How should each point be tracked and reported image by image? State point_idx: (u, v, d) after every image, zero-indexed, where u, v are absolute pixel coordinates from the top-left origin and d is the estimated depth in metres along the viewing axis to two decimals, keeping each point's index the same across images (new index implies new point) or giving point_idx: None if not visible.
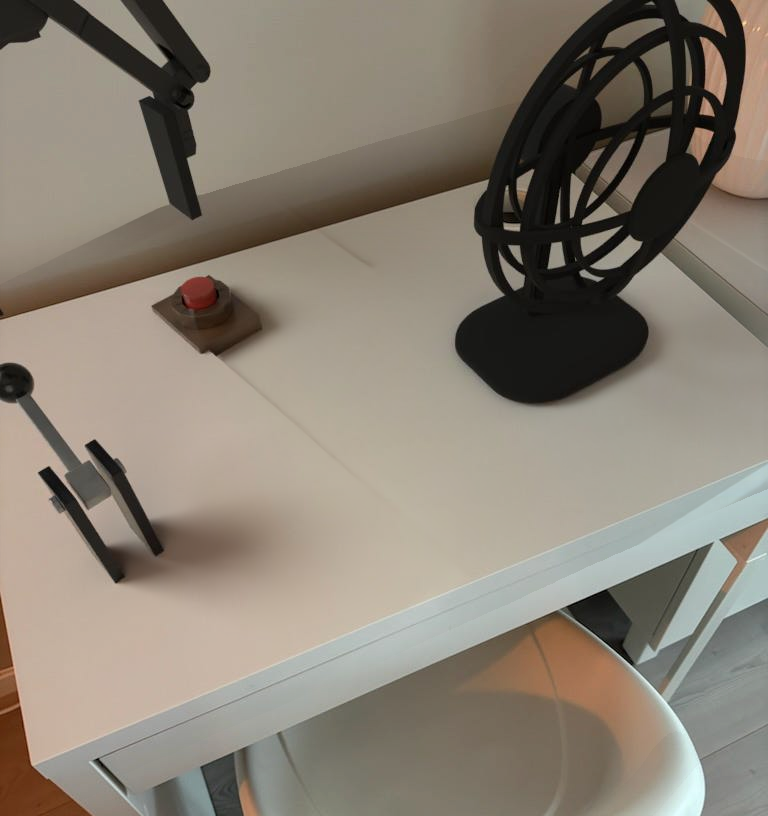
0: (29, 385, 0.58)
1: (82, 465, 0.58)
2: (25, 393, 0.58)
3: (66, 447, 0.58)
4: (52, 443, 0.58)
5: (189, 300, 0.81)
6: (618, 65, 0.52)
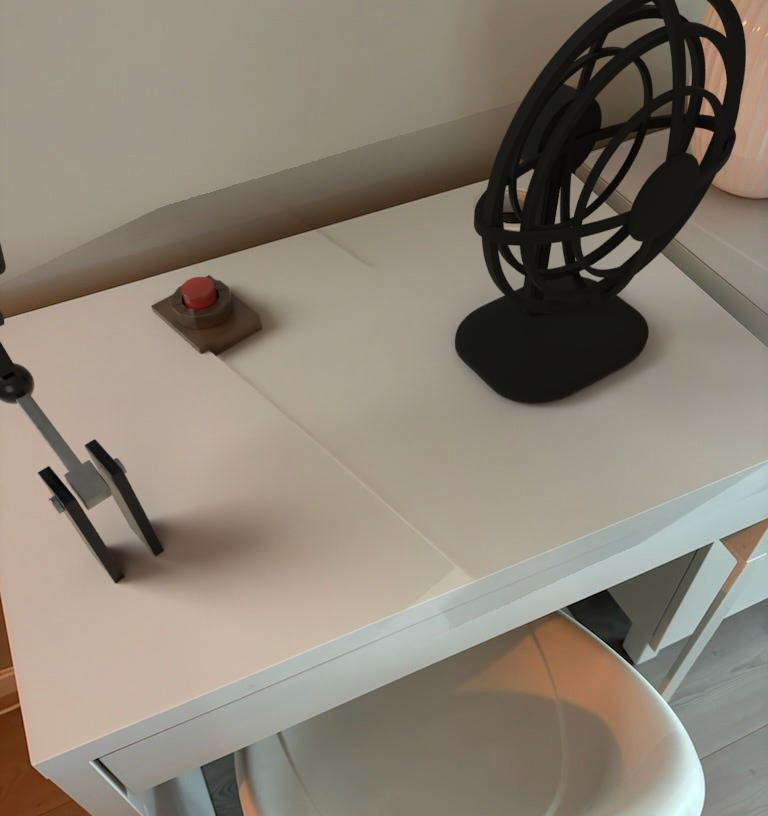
0: (29, 385, 0.58)
1: (82, 465, 0.58)
2: (25, 393, 0.58)
3: (66, 447, 0.58)
4: (52, 443, 0.58)
5: (189, 300, 0.81)
6: (618, 65, 0.52)
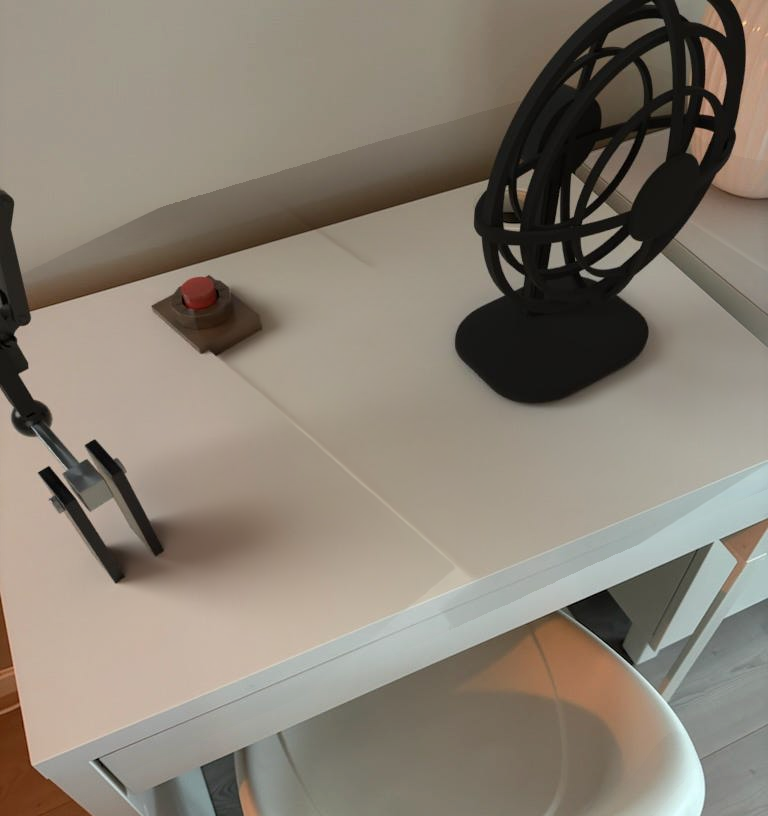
0: (43, 414, 0.63)
1: (80, 463, 0.59)
2: (39, 420, 0.62)
3: (69, 456, 0.60)
4: (57, 454, 0.60)
5: (189, 300, 0.81)
6: (618, 65, 0.52)
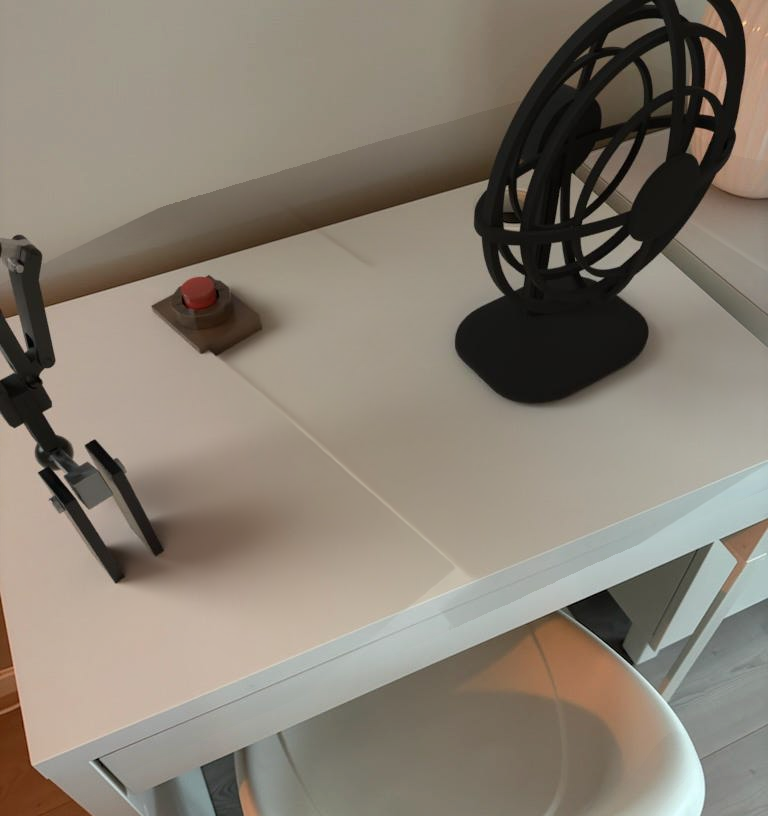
0: (62, 444, 0.65)
1: None
2: (58, 449, 0.65)
3: (76, 466, 0.61)
4: (66, 468, 0.61)
5: (189, 300, 0.81)
6: (618, 65, 0.52)
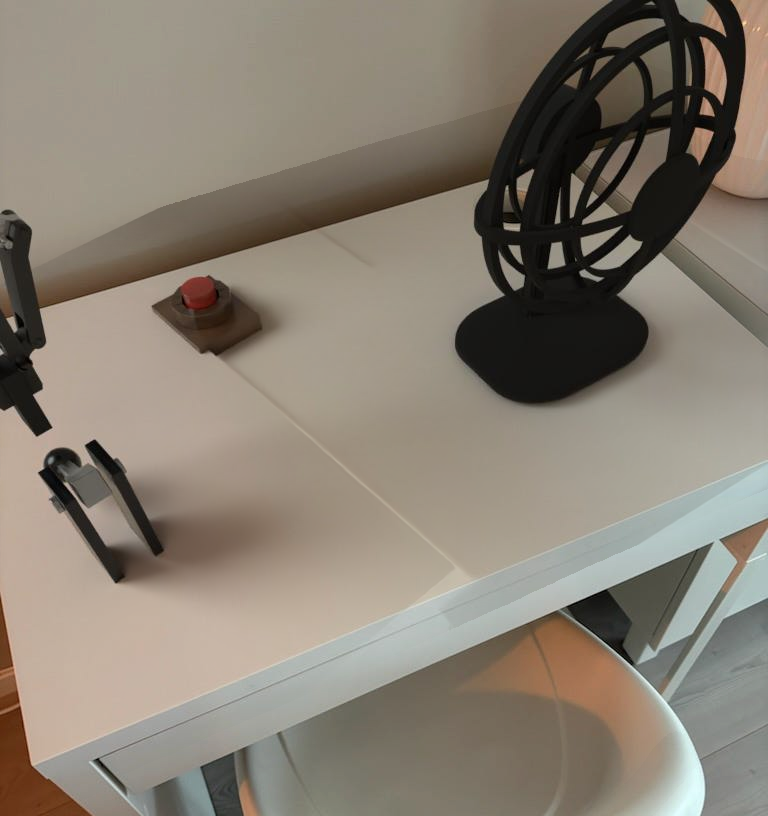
0: (69, 455, 0.66)
1: (81, 467, 0.59)
2: (65, 460, 0.66)
3: None
4: (69, 473, 0.62)
5: (189, 300, 0.81)
6: (618, 65, 0.52)
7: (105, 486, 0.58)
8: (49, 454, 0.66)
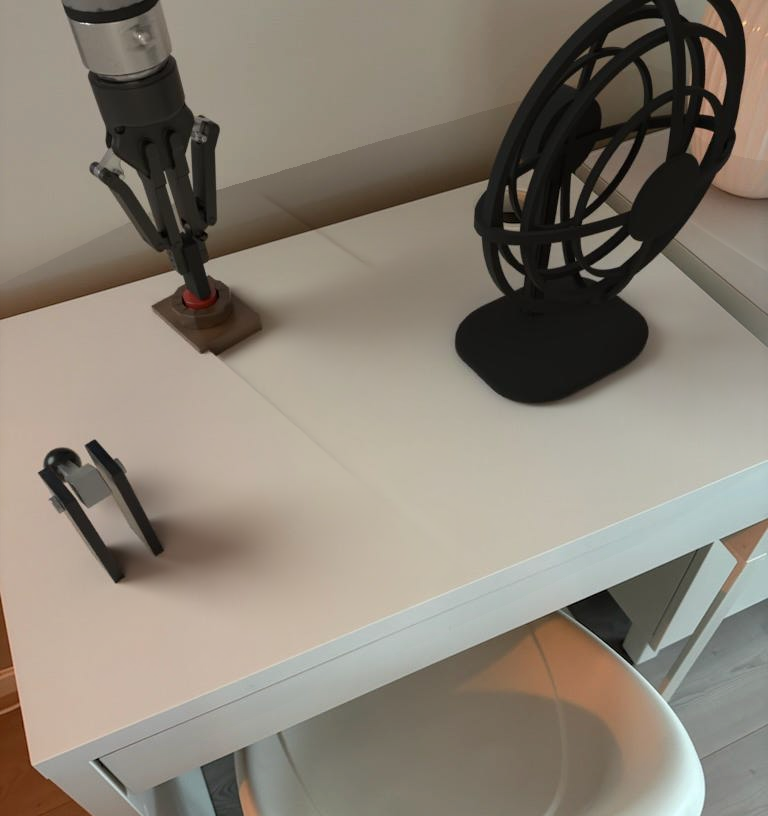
0: (69, 455, 0.66)
1: (81, 467, 0.59)
2: (65, 460, 0.66)
3: None
4: (69, 473, 0.62)
5: (191, 306, 0.82)
6: (618, 65, 0.52)
7: (105, 486, 0.58)
8: (49, 454, 0.66)
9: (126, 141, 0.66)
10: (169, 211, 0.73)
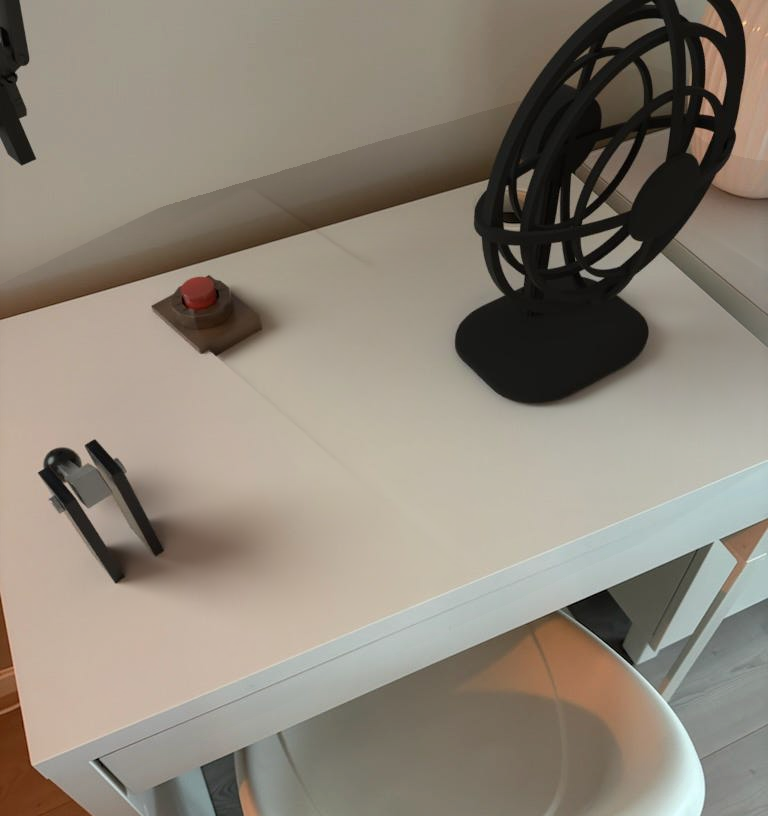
0: (69, 455, 0.66)
1: (81, 467, 0.59)
2: (65, 460, 0.66)
3: None
4: (69, 473, 0.62)
5: (189, 300, 0.81)
6: (618, 65, 0.52)
7: (105, 486, 0.58)
8: (49, 454, 0.66)
9: None
10: None
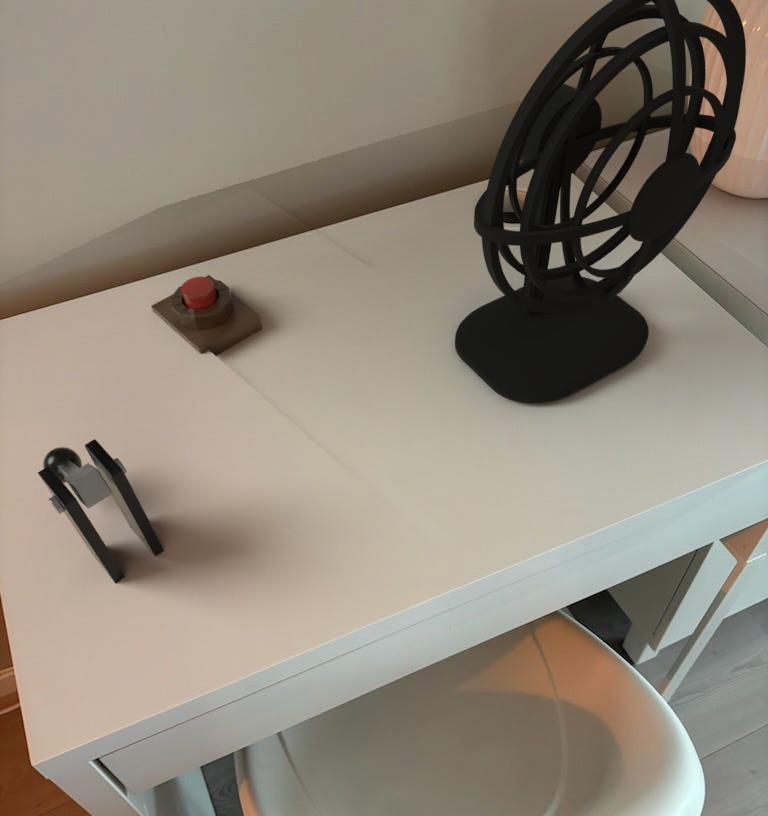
0: (69, 455, 0.66)
1: (81, 467, 0.59)
2: (65, 460, 0.66)
3: None
4: (69, 473, 0.62)
5: (189, 300, 0.81)
6: (618, 65, 0.52)
7: (105, 486, 0.58)
8: (49, 454, 0.66)
9: None
10: None
